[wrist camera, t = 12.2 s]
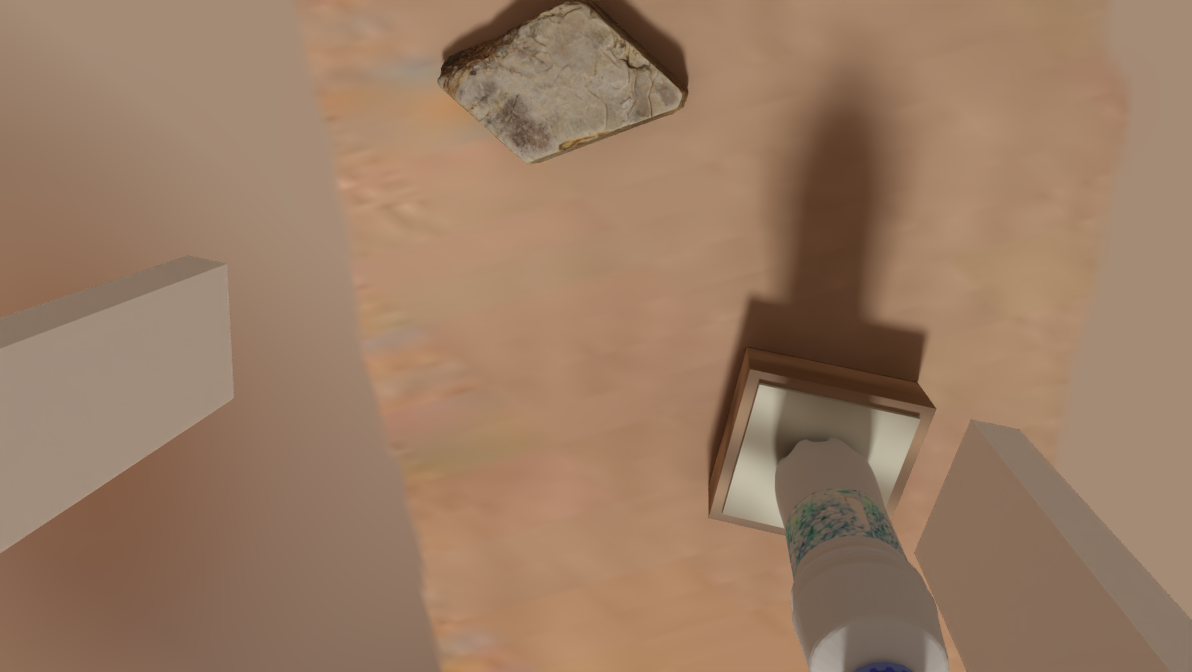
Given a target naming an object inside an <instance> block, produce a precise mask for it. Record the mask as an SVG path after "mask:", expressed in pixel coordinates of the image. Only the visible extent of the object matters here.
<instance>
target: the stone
mask: <svg viewBox="0 0 1192 672" xmlns="http://www.w3.org/2000/svg"><path fill="white" fill-rule="evenodd" d="M437 81H438V85H439V86H440V87H441V88H442V89H444V91H445V92H446V93H448V94H449V95H450V96H451V97H452V98H453V99H454V100H455V101H456V102H457V103H459V104H460V105H461V106H462V107H463V108H464V109H466V110H467V111H468V112H469V113H470V114H471V115H472V116H474V117H475V118H476V119H477V120H478V121H479V122H480V123H481V124H482V125H484V126H485V127H486V128H487V129H488V130H489V131H490V132H491V133H492V134H493V135H494V136H495V137H496V138H497V139H499V140H500V141H501V142H502V143H503V144H504V145H505V146H506V147H508V148H509V149H510V150H511V151H512V152H513V153H514V154H515V155H517V156H518V157H519V158H520V159H521V160H522V161H524V162H525V163H526V164H530V165H531V164H535V163H541V162H544V161H546V160H548V159H551V158H553V157H556V156H559V155H562V154H565V153H567V152H570V151H573V150H575V149H578V148H581V147H583V146H586V145H589V144H591V143H594V142H597V141H599V140H602V139H605V138H607V137H610V136H613V135H615V134H618V133H621V132H623V131H626V130H629V129H631V128H634V127H636V126H639V125H642V124H645V123H647V122H650V121H653V120H656V119H658V118H661V117H664V116H668V115H671V114H674V113H676V112H677V111H679V110H680V109H681V108H683V107H684V105H685V102H686V100H687V96H688V89H687V88H686V87H685V86H684V84H683V83H681V82H680V81H679V80H678V79H677V78H676V77H675V76H674V75H672V74H671V73H670V72H669V71H668V70H667V69H666V68H665V67H663V66H662V65H661V64H660V63H659V62H658V61H657V60H656V59H655V58H654V57H652V56H651V55H650V54H649V53H648V52H647V51H646V50H645V49H644V48H643V47H642V46H641V45H640V44H638V43H637V42H636V41H635V40H634V39H633V38H632V37H631V36H630V35H628V34H627V33H626V32H625V31H624V30H623V29H622V28H621V27H620V26H619V25H617V24H616V23H615V22H614V21H613V20H612V19H611V18H610V17H609V16H608V15H607V14H606V13H605V12H604V11H603V10H602V9H601V8H600V7H598V6H597V5H596V4H595V3H594V2H593V1H589V0H570V1H566V2H564V3H562V4H560V5H558V6H555V7H553V8H552V9H551V10H545V11H544V12H542V13H541V14H539V15H538V16H536V17H535V18H533V19H532V20H529V21H526V22H522V23H521V24H520V25H518V26H517V27H515V28H512V29H510V30H509V31H508V32H507V33H506V34H504V35H503V36H500V37H498V38H497V39H495V40H491V41H487V42H484V43H481V44H480V45H477V46H476V45H474V46H472V47H471V48H469V49H467V50H464V51H462V52H459V53H458V54H456V55H454V56H450V57H449V58H448V59H447V61H445V62H444V64H443V65H442V68H441V75H440V77H439V78H438V80H437Z"/></svg>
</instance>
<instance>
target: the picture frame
mask: <svg viewBox="0 0 1192 672" xmlns="http://www.w3.org/2000/svg"><path fill="white" fill-rule="evenodd" d="M935 411H936V408H935V406H934V405H933V403H932V402H931V401H930V399H929V398H928V396H927V395H926V394H925V392H924V391H923V389H922V388H921V387H920V385H919V384H918V383H916V382H911V381H906V380H901V379H896V378H892V377H887V376H882V375H877V374H873V373H868V372H863V371H858V370H854V369H849V368H844V367H839V366H835V365H830V364H825V363H820V362H816V361H811V360H806V359H801V358H797V357H792V356H787V355H782V354H778V353H773V352H768V351H763V350H758V349H754V348H749V347H746V351H745V355H744V358H743V362H742V366H741V369H740V373H739V377H738V380H737V384H736V388H735V391H734V395H733V399H732V402H731V406H730V410H729V413H728V417H727V421H726V424H725V428H724V432H723V435H722V439H721V443H720V446H719V450H718V454H717V457H716V461H715V465H714V468H713V472H712V476H711V480H710V483H709V487H708V492H709V518H711V519H715V520H720V521H724V522H728V523H733V524H737V525H741V526H745V527H750V528H754V529H758V530H763V531H767V532H771V533H775V534H780V535H784V536H786V533H785V529H784V526H783V522H782V519H781V516H780V513H779V509H778V505H777V501H776V495H775V472H776V468H777V465H778V463H779V461H780V460H781V459H782V458H784V457H787V456H788V455H789V454H790V453H791V452H792V450H793V449H794V447H795V446H796V444H797V443H798V442H800V441H802V440H804V439H807V440H809V441H812V442H823V441H827V439H829V438H836V439H839V440H841V441H843V442H844V443H845V444H847V445H848V446H849V447H850V448H852V449H853V450H854V451H856V452H857V453H858V454H860V455H862V456H863V457H864V458H865V459H866V460H867V462H868V463H869V465H870V466H871V468H872V470H873V473H874V475H875V477H876V480H877V483H878V486H879V489H880V492H881V495H882V499H883V502H884V506H885V509H886V512H887V514H888V516H889V518H890V521H891V520H892V517H893V515H894V512H895V510H896V507H897V505H898V502H899V500H900V497H901V495H902V493H903V490H904V488H905V485H906V483H907V480H908V478H909V475H910V473H911V470H912V468H913V465H914V463H915V460H916V458H917V455H918V453H919V451H920V448H921V446H922V443H923V441H924V438H925V436H926V433H927V431H928V428H929V426H930V423H931V421H932V418H933V416H934V414H935Z"/></svg>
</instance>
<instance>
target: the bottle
mask: <svg viewBox="0 0 1192 672" xmlns="http://www.w3.org/2000/svg"><path fill="white" fill-rule="evenodd" d="M775 495H776V501H777V505H778V509H779V513H780V516H781V519H782V522H783V526H784V529H785V533H786V540H787V546H788V551H789V557H790V562H791V568H792V574H793V579H794V583H793V587H792V591H791V606H792V611H793V612H792V621H793V627H794V630H795V632H796V635H797V637H798V639H799V642H800V645H801V648H802V651H803V653H804V656H805V659H806V662H807V665H808V668H809V671H810V672H948V670H949V663H948V655H947V651H946V648H945V644H944V640H943V636H942V632H941V628H940V623H939V619H938V613H937V607H936V604H935V601H934V599H933V597H932V595H931V594H930V592H929V591H928V589H927V587H926V585H925V582H924V580H923V578H922V576H921V575H920V574H919V572H918V571H917V570H916V569H915V568H914V567H913V566H912V565H911V564H910V563H909V562H908V561H907V558H906V556H905V554H904V551H903V549H902V547H901V544H900V542H899V540H898V537H897V535H896V533H895V530H894V528H893V526H892V523H891V521H890V518H889V516H888V514H887V512H886V509H885V506H884V502H883V499H882V495H881V492H880V489H879V486H878V483H877V480H876V477H875V475H874V473H873V470H872V468H871V466H870V465H869V463H868V462H867V460H866V459H865V458H864V457H863V456H862V455H860V454H858V453H857V452H856V451H854V450H853V449H852V448H850V447H849V446H848V445H847V444H845V443H844V442H843V441H841V440H839V439H836V438H829V439H827V441H823V442H812V441H809V440H807V439H804V440H802V441H800V442H798V443H797V444H796V446H795V447H794V449H793V450H792V452H791V453H790V454H789V455H788V456H787V457H784V458H782V459H781V460H780V461H779V463H778V465H777V468H776V472H775Z"/></svg>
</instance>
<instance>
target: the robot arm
mask: <svg viewBox="0 0 1192 672" xmlns="http://www.w3.org/2000/svg"><path fill="white" fill-rule="evenodd" d="M230 333H231V332H230V313H229V293H228V274H227V264H225V263H221V262H216V261H210V260H206V259H201V258H197V257H192V256H185V257H182V258H179V259H176V260H173V261H170V262H167V263H165V264H161V265H158V266H155V267H152V268H149V269H146V270H143V271H140V272H137V273H134V274H131V275H128V276H125V277H122V278H119V279H116V280H113V281H110V282H107V283H103V284H100V285H97V286H94V287H91V288H88V289H85V290H82V291H79V292H76V293H73V294H70V295H67V296H64V297H61V298H58V299H55V300H52V301H49V302H46V303H43V304H40V305H37V306H34V307H31V308H28V309H25V310H22V311H19V312H16V313H13V314H9V315H6V316H3V317H0V553H1V552H3V551H4V550H6V549H7V548H9V547H10V546H12V545H13V544H15V543H16V542H18V541H19V540H21V539H22V538H24V537H25V536H27V535H28V534H30V533H31V532H33V531H34V530H36V529H37V528H39V527H40V526H42V525H43V524H45V523H46V522H48V521H49V520H51V519H53V518H54V517H55V516H57V515H59V514H60V513H61V512H63V511H64V510H66V509H68V508H69V507H70V506H72V505H73V504H75V503H77V502H78V501H80V500H81V499H82V498H84V497H85V496H87V495H88V494H90V493H92V492H93V491H94V490H96V489H98V488H99V487H101V486H102V485H104V484H105V483H107V482H108V481H110V480H111V479H113V478H114V477H116V476H117V475H119V474H120V473H122V472H123V471H125V470H126V469H128V468H129V467H131V466H132V465H134V464H135V463H137V462H138V461H140V460H141V459H143V458H144V457H145V456H147V455H149V454H150V453H152V452H153V451H155V450H156V449H158V448H159V447H161V446H162V445H164V444H166V443H167V442H168V441H170V440H171V439H173V438H174V437H176V436H177V435H179V434H180V433H182V432H183V431H185V430H186V429H188V428H190V427H191V426H192V425H194V424H196V423H197V422H199V421H200V420H201V419H203V418H205V417H206V416H208V415H209V414H210V413H212V412H214V411H215V410H217V409H218V408H219V407H221V406H223V405H224V404H226V403H227V402H229V401H230V400H232V399H233V398H234V391H233V371H232V351H231V334H230ZM914 553H915V556H916V558H917V560H918V562H919V565H920V567H921V569H922V571H923V574H924V576H925V578H926V580H927V583H928V585H929V587H930V589H931V592H932V594H933V596H934V598H935V601H936V603H937V605H938V607H939V610H940V612H941V614H942V616H943V619H944V621H945V623H946V626H947V628H948V630H949V632H950V635H951V637H952V639H953V641H954V644H955V646H956V648H957V650H958V653H959V655H960V657H961V659H962V662H963V664H964V666H965V668H966V671H967V672H1192V620H1191V619H1190V617H1189V616H1188V615H1187V614H1186V613H1185V612H1184V611H1183V610H1182V609H1181V607H1179V605H1178V604H1177V603H1176V602H1175V601H1174V600H1173V599H1172V598H1171V597H1170V595H1169V594H1168V593H1167V592H1166V591H1165V590H1164V589H1163V588H1162V587H1161V585H1160V584H1159V583H1158V582H1157V581H1156V580H1155V579H1154V578H1153V577H1152V576H1151V574H1150V573H1149V572H1148V571H1147V570H1146V569H1145V568H1144V567H1143V566H1142V564H1141V563H1140V562H1139V561H1138V560H1137V559H1136V558H1135V557H1134V556H1133V555H1132V554H1131V552H1130V551H1129V550H1128V549H1127V548H1126V547H1125V546H1124V545H1123V544H1122V543H1121V541H1120V540H1119V539H1118V538H1117V537H1116V536H1115V535H1114V534H1113V532H1112V531H1111V530H1110V529H1109V528H1108V527H1107V526H1106V525H1105V524H1104V523H1103V522H1102V520H1101V519H1100V518H1099V517H1098V516H1097V515H1096V514H1095V513H1094V512H1093V510H1092V509H1091V508H1090V507H1089V506H1088V505H1087V504H1086V503H1085V502H1084V500H1083V499H1082V498H1081V497H1080V496H1079V495H1078V494H1077V493H1076V492H1075V490H1074V489H1073V488H1072V487H1071V486H1070V485H1069V484H1068V483H1067V482H1066V481H1065V479H1064V478H1063V477H1062V476H1061V475H1060V474H1059V473H1058V472H1057V471H1056V470H1055V468H1054V467H1053V466H1052V465H1051V464H1050V463H1049V462H1048V461H1047V460H1046V458H1045V457H1044V456H1043V455H1042V454H1041V453H1040V452H1039V451H1038V450H1037V449H1036V447H1035V446H1034V445H1033V444H1032V443H1031V442H1030V441H1029V440H1028V439H1027V438H1026V436H1025V435H1024V434H1023V433H1022V432H1021V431H1020V430H1019V429H1015V428H1010V427H1005V426H1000V425H995V424H991V423H986V422H981V421H976V420H972V419H971V421H970V423H969V425H968V428H967V430H966V432H965V435H964V437H963V439H962V442H961V444H960V446H959V449H958V451H957V454H956V456H955V458H954V461H953V463H952V465H951V468H950V470H949V472H948V475H947V477H946V479H945V482H944V484H943V486H942V489H941V491H940V494H939V496H938V498H937V501H936V503H935V505H934V508H933V510H932V512H931V515H930V517H929V519H928V522H927V524H926V526H925V529H924V531H923V534H922V536H921V538H920V541H919V543H918V545H917V548H916V550H915V552H914Z"/></svg>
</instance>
